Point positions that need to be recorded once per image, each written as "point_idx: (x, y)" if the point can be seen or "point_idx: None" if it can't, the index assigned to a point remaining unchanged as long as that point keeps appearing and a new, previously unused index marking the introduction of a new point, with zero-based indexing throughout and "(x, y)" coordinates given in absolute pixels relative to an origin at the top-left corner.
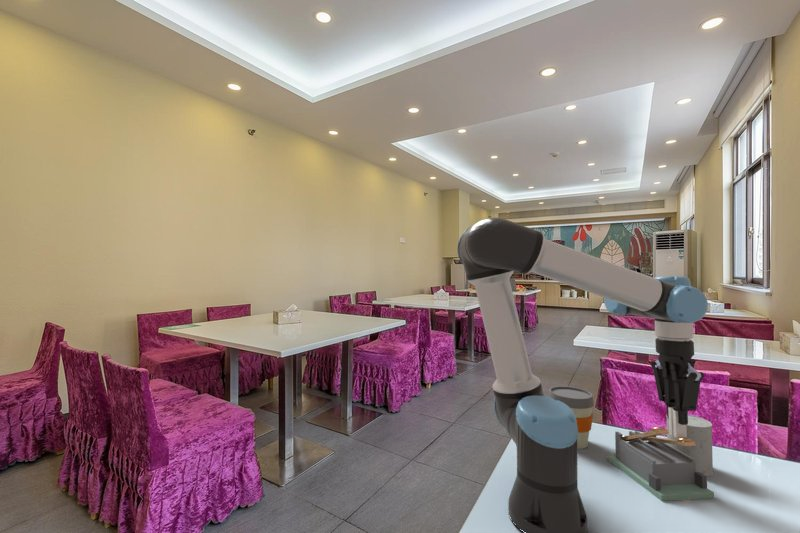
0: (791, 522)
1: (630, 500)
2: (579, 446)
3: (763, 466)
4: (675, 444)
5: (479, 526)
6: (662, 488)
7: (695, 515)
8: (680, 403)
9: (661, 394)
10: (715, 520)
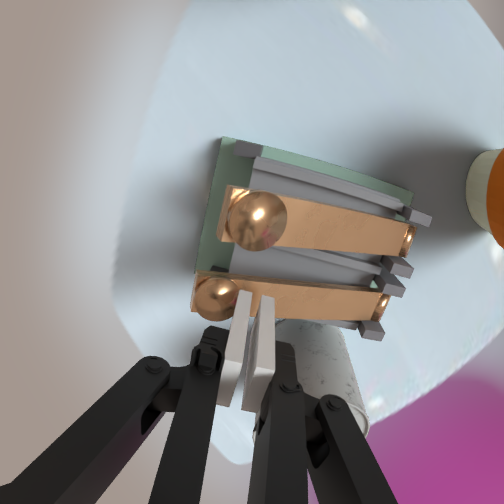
0: (117, 311)
1: (250, 69)
2: (470, 175)
3: (249, 445)
4: (316, 351)
5: None
6: (243, 169)
7: (165, 160)
8: (181, 392)
9: (331, 426)
10: (144, 184)
